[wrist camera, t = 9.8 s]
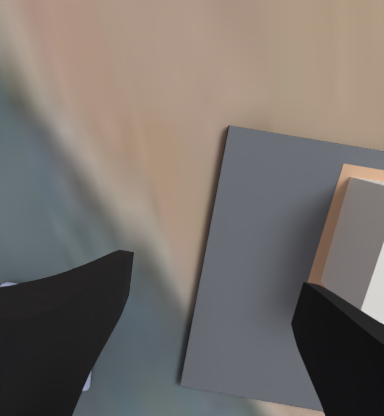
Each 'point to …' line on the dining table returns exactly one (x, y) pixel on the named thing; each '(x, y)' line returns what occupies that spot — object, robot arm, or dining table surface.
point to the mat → (267, 261)
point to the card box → (359, 249)
